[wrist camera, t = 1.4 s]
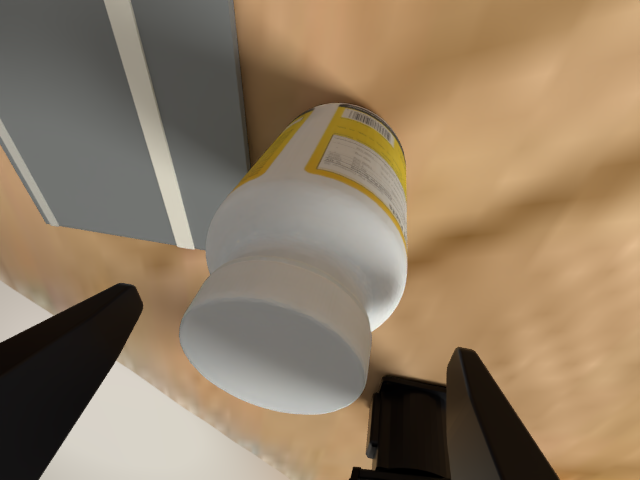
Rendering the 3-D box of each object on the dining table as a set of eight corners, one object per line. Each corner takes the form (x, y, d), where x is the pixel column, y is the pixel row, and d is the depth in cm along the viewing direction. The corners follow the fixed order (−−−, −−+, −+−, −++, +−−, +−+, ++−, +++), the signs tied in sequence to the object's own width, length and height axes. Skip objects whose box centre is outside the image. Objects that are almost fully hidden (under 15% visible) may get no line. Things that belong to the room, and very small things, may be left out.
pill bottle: (275, 201, 19) (158, 392, 10) (287, 83, 15) (108, 224, 6) (385, 229, 19) (365, 454, 10) (427, 116, 15) (459, 320, 6)
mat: (231, -11, 13) (225, -11, 13) (259, 254, 22) (256, 260, 21) (-85, -25, 16) (-101, -25, 15) (52, 219, 24) (44, 224, 24)
